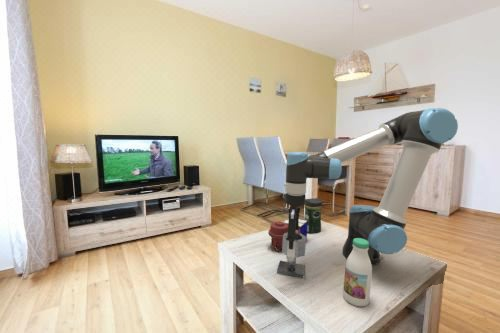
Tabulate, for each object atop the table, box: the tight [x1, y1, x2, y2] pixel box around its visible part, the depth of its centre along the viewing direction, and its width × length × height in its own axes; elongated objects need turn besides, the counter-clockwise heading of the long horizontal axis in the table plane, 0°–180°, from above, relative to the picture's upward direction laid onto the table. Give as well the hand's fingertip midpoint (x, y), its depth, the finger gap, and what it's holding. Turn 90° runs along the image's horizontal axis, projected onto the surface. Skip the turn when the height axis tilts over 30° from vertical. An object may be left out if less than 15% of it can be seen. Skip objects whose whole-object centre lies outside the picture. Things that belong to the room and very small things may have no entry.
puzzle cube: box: [282, 218, 308, 240], centre depth 116 cm, size 10×10×10 cm
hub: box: [281, 233, 307, 259], centre depth 88 cm, size 8×8×6 cm
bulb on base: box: [276, 254, 306, 279], centre depth 89 cm, size 10×7×8 cm
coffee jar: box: [303, 197, 323, 234], centre depth 129 cm, size 10×8×19 cm
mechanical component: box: [268, 220, 288, 252], centre depth 108 cm, size 12×10×10 cm
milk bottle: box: [342, 238, 373, 307], centre depth 74 cm, size 8×8×20 cm
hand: (292, 250), depth 89 cm, fingers closed on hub, 8 cm apart
